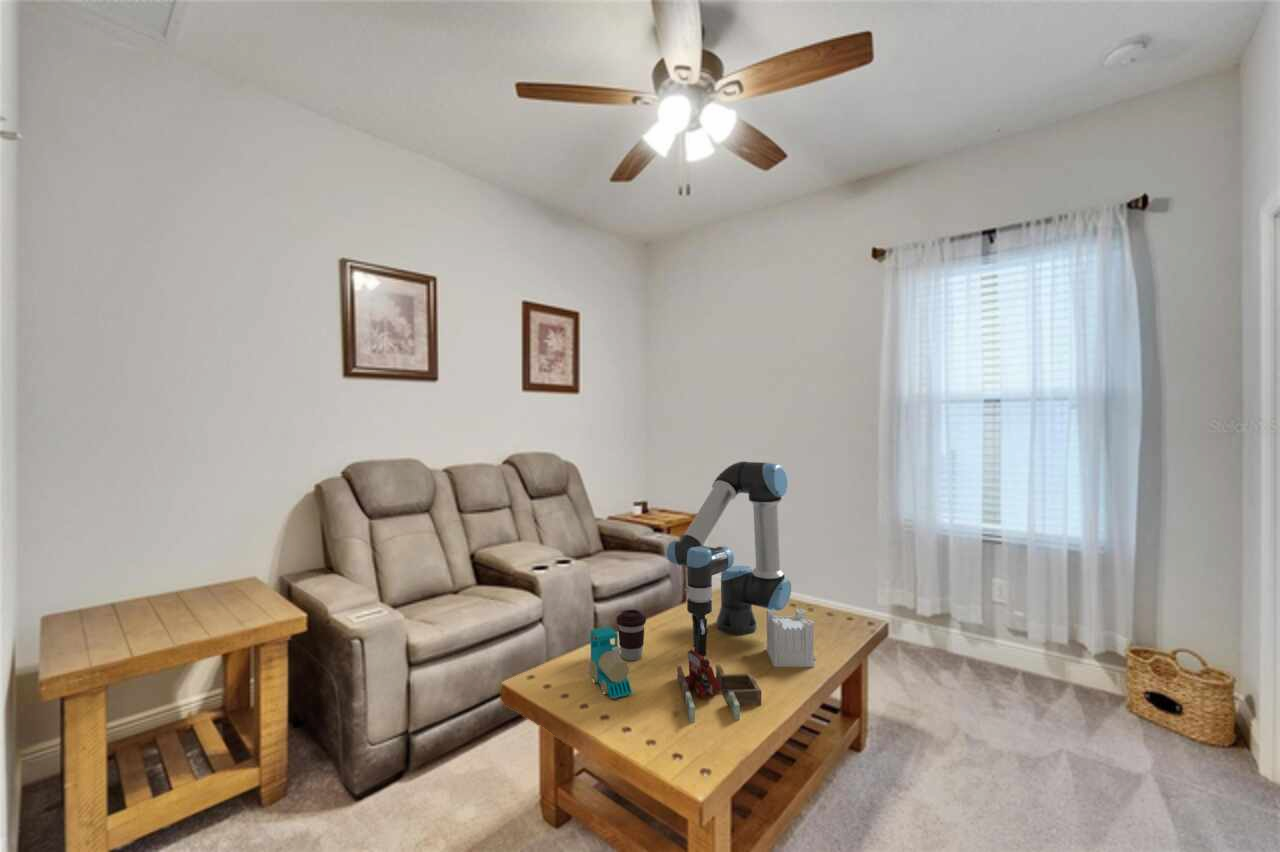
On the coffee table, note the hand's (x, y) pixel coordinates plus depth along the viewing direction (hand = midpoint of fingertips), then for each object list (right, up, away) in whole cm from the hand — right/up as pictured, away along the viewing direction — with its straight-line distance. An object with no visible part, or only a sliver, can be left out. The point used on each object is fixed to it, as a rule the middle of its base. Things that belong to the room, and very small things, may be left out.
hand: (699, 674), depth 167 cm
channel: (+1, -2, -10) cm, 10 cm away
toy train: (-27, -3, -3) cm, 27 cm away
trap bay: (+11, -2, -9) cm, 14 cm away
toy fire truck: (0, -2, -6) cm, 6 cm away
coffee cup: (-21, -2, +18) cm, 28 cm away
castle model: (+33, -2, +16) cm, 37 cm away
